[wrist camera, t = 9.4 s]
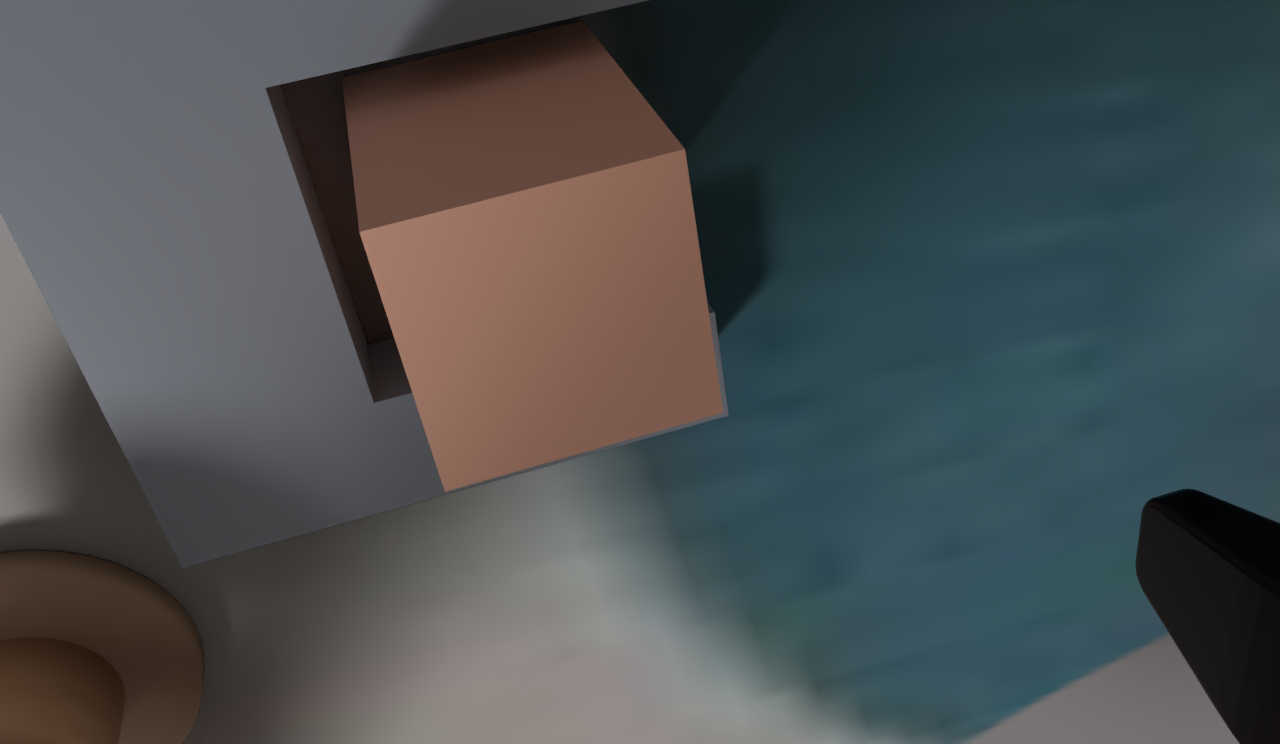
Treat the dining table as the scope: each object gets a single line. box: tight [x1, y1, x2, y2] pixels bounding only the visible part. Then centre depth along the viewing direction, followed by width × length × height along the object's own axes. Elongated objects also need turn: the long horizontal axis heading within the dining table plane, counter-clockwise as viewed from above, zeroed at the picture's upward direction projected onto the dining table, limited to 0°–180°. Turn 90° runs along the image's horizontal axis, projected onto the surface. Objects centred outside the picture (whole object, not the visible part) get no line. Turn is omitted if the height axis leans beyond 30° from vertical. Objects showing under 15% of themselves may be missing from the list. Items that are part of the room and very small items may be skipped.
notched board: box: [0, 0, 728, 568], centre depth 19 cm, size 10×10×2 cm
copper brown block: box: [342, 21, 723, 492], centre depth 17 cm, size 4×4×6 cm
